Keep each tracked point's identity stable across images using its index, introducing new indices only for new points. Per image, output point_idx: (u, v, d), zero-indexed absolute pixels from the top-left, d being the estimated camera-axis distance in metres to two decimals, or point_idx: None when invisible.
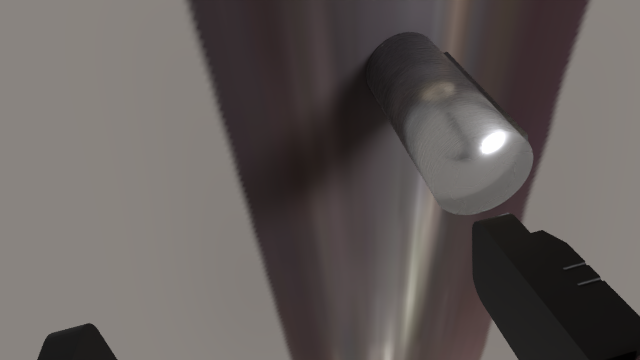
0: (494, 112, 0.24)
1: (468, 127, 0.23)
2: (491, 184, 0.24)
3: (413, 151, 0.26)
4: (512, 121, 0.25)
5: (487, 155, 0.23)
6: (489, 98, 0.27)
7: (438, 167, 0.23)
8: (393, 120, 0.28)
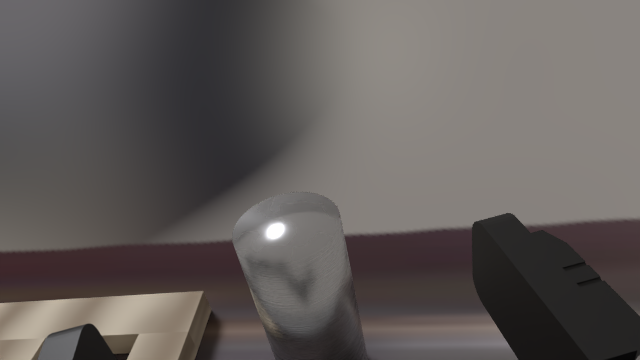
0: None
1: None
2: (302, 216, 0.23)
3: (289, 307, 0.22)
4: None
5: (260, 226, 0.23)
6: None
7: (255, 263, 0.21)
8: (305, 353, 0.24)
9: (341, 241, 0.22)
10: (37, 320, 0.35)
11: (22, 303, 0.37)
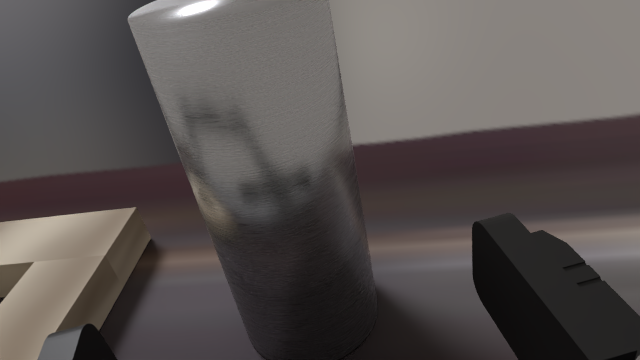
0: None
1: None
2: None
3: (229, 135, 0.12)
4: None
5: (182, 1, 0.13)
6: None
7: (159, 33, 0.11)
8: (265, 239, 0.14)
9: (326, 17, 0.12)
10: None
11: None
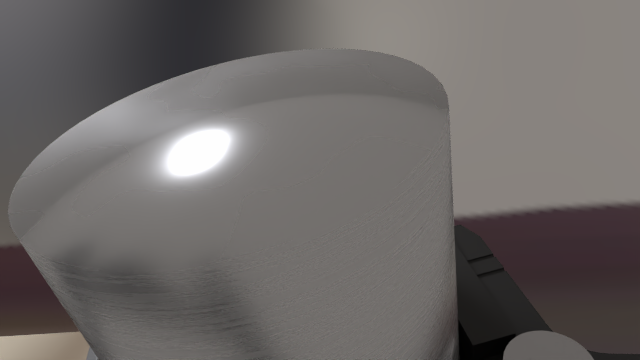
0: None
1: None
2: (294, 97, 0.06)
3: None
4: None
5: (140, 133, 0.06)
6: None
7: (60, 273, 0.04)
8: None
9: (450, 184, 0.06)
10: None
11: None
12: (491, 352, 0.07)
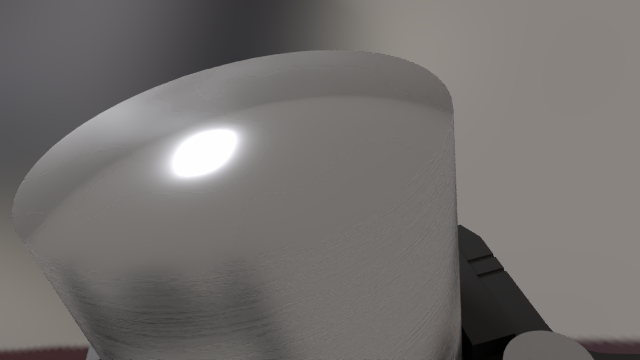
0: None
1: None
2: (297, 99, 0.06)
3: None
4: None
5: (143, 135, 0.06)
6: None
7: (63, 276, 0.04)
8: None
9: (454, 186, 0.06)
10: None
11: None
12: (491, 352, 0.07)
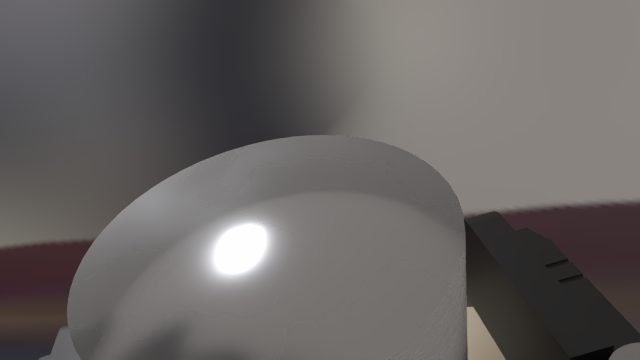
0: None
1: None
2: (320, 200, 0.07)
3: None
4: None
5: (178, 234, 0.07)
6: None
7: None
8: None
9: (465, 292, 0.06)
10: None
11: None
12: None
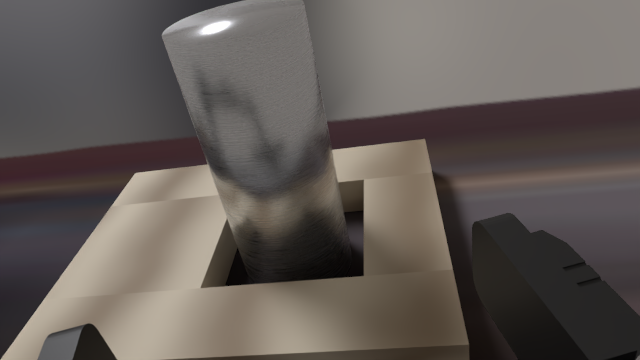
0: None
1: None
2: (255, 10, 0.18)
3: (234, 120, 0.17)
4: None
5: (200, 22, 0.18)
6: None
7: (186, 48, 0.16)
8: (261, 198, 0.19)
9: (305, 35, 0.17)
10: None
11: (186, 168, 0.30)
12: None
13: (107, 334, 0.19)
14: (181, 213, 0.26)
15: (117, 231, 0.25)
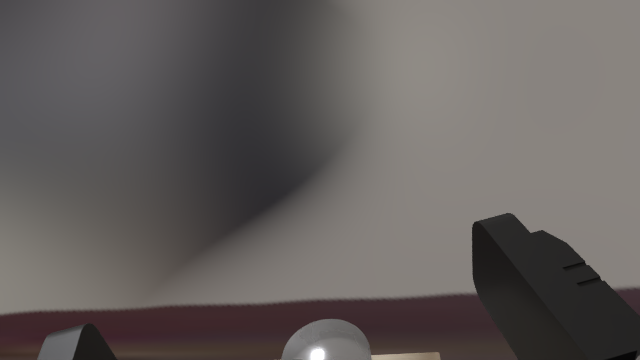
0: None
1: None
2: (338, 346, 0.28)
3: None
4: None
5: (304, 355, 0.28)
6: None
7: None
8: None
9: None
10: None
11: None
12: None
13: None
14: None
15: None
